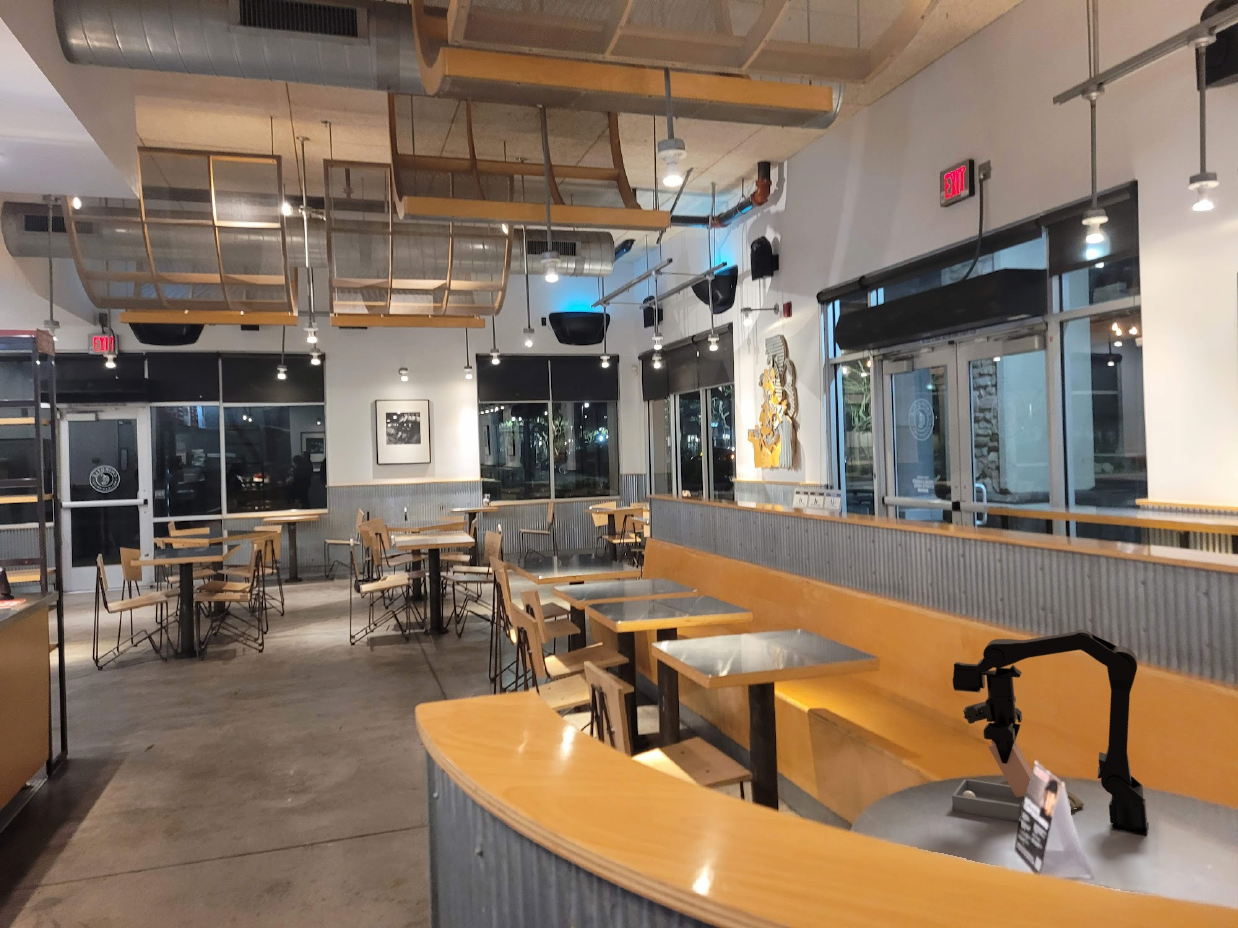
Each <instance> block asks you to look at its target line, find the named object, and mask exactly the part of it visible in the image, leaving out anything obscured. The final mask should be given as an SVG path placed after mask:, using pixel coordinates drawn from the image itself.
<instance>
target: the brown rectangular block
mask: <svg viewBox="0 0 1238 928" xmlns="http://www.w3.org/2000/svg"><path fill="white" fill-rule="evenodd" d="M990 743H991V744H990V745H988V749H989V751H990V753H991V755H992V757H993V758H994V760H995V762H996V764H997V765H998V767H999V769H1000V771H1001V773H1002V774H1003V776H1004V778H1005V781H1007V782H1008V783H1009V785H1010V787H1011V789H1012V791H1013V792H1014V794H1015V796H1016V798H1018V797H1021V796H1024V795H1026V792H1027V787H1028V785H1029V781H1030V779H1031V774H1032V772H1033V770H1032V768H1031V767H1030V765H1029V763H1028V761H1027V759H1026V757H1025V756H1024V754H1023V752H1022V751H1021V749H1020V747H1019V744H1017V742H1016V740H1015V741H1014V744H1013V747H1012V750H1011V753H1010V756H1009V759H1008V762H1007V764H1005V763H1002V761H1001V758H1000V755H999V753H998V750H997V747H996V744H995V742H994V741H992V740H991V741H990Z"/></svg>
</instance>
